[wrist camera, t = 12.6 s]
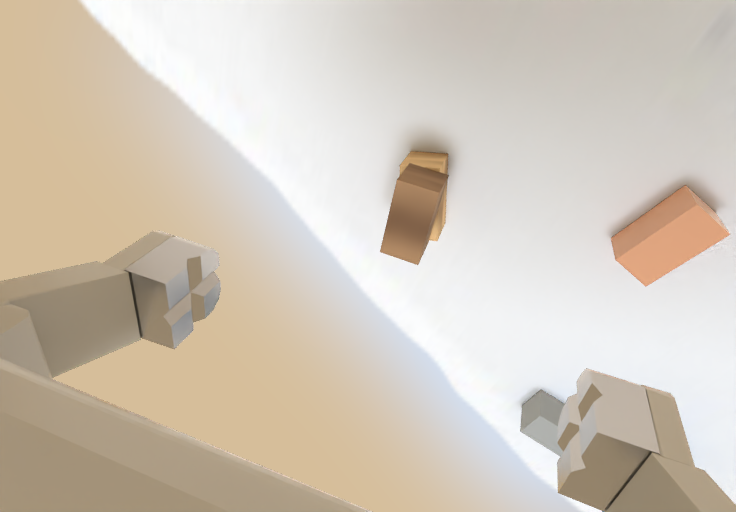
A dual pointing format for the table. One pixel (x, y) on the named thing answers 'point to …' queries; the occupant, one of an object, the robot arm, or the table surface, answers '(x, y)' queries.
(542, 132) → the table surface
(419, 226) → the walnut block
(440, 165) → the oak block
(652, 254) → the terracotta block
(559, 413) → the slate block
